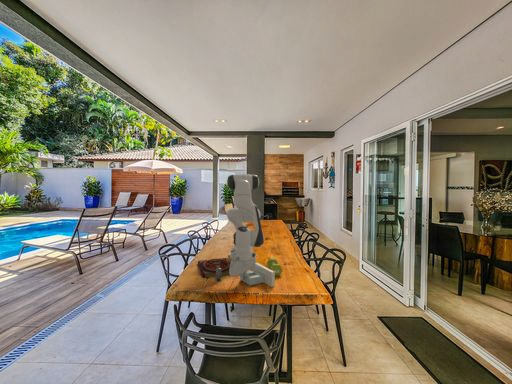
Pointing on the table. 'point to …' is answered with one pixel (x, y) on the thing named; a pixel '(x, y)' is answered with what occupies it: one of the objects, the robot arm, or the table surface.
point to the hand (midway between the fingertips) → (242, 279)
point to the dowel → (218, 274)
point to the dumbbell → (274, 266)
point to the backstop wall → (267, 272)
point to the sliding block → (254, 278)
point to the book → (214, 266)
